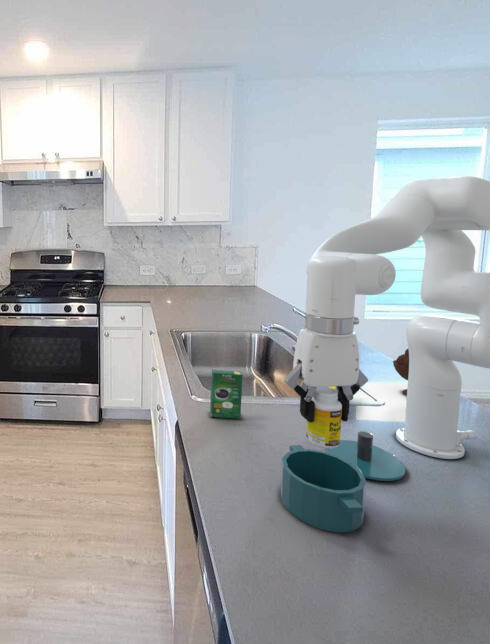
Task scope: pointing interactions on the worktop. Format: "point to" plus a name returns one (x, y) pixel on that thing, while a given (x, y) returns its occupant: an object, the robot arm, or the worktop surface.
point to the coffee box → (226, 394)
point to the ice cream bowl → (403, 366)
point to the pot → (323, 489)
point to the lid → (370, 458)
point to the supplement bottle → (325, 419)
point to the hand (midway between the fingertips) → (323, 417)
